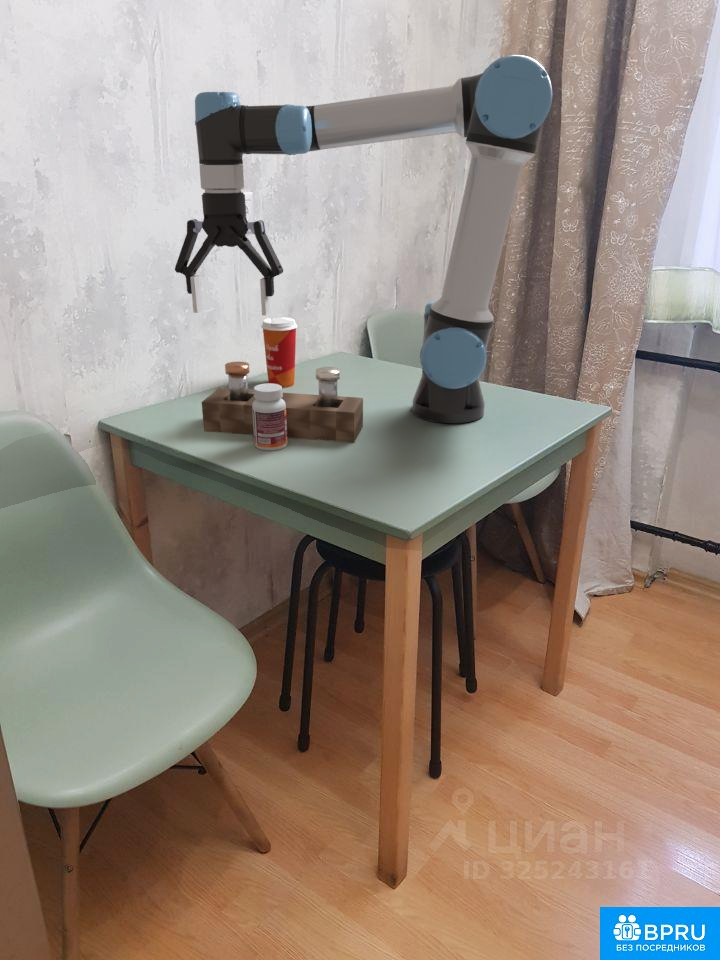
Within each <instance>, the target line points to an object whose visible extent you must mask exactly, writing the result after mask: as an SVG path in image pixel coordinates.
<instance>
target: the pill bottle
mask: <svg viewBox="0 0 720 960" xmlns="http://www.w3.org/2000/svg"><path fill="white" fill-rule="evenodd" d="M253 391H254V398H255V399H256V400H255V401H254V402H253V404H252V413H253V429H254V435H253V441H254V447H256V448H257V449H258V450H261V451H278V450H281V449H285V447H286V446H287V445H288V438H287V419H286V403H285V401H284V400H283V399H281V398H282V397H283V393H284V392H283V388H282V386H281V385H278V384H272V383H269V382H268V383H261V384H256V385H255V386H253Z"/></svg>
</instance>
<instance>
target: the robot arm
mask: <svg viewBox="0 0 720 960" xmlns="http://www.w3.org/2000/svg"><path fill="white" fill-rule="evenodd" d="M552 102H553V88H552V82H551V78H550V76H549V74H548V72H547V70H545V68H544V67H543V65H541V63H539V62H538V60H535V59H534V58H532V57H530V56H527V55H521V54H510V55H505V56H502V57H500V58H497V59H496V60H495V61H493V62H491V63H490V64H489V65H488V66H487V67H486V68H485V69H484V71H483V72H482V73H480V74H476V75H472V76H466V77H458V79H457V81H456V82H455V83H454V84H452V85H450V86H443V87H442V86H441V87H434V88H427V89H420V90H414V91H408V92H407V91H406V92H400V93H399V92H398V93H392V94H385V95H379V96H371V97H364V98H356V99H351V100H342V101H335V102H329V103H322V104H316V105H307V106H306V105H305V106H304V105H294V104H289V103H288V104H279V105H278V104H277V105H276V104H271V105H245V104H241V102H240V98H239V95H238V93H236V92H232V91H203V92H199V93H198V94H196V96H195V98H194V113H195V114H194V115H195V119H194V125H195V132H196V141H197V142H196V143H197V149H198V150H197V151H198V163H199V177H200V178H199V179H200V188H201V190H204V192H202V194H201V200H202V201H201V202H202V213H203V220H201V221H200V220H199V219H195V218H194V219H190V220H187V222H186V235H185V237H184V241H183V243H182V246H181V250H180V252H179V256H178V258H177V261H176V264H175V265H174V266H175V267H174V271H175V272H176V273H177V274H178V273H179V274H182V275H183V276H184V277H185V283H186V292H187V294H189V295H190V294H191V298H192V308H193V309H192V311H193V313H194V314H197V313H200V312H202V311H203V310H204V309H203V307H204V306H203V298H202V297H203V296H202V287H201V286H202V285H201V276H200V274H197V271H198V270H199V268H200V267H201V265H202V264H203V263H204V261H205V259H206V258H207V257H208V256H209V254H210V253H211V251H212V249H213V248H214V247H215V246H216V247H218V248H219V247H220V248H221V247H224V246H225V247H228V248H229V247H230V248H234V247H236V246H237V247H238V248H239V249H240V250H241V251H242V252H243V253H244V254H245V255H246V256H247V258H248V259H249V260H250V262H251V263H252V264H253V265H254V267H255V268H256V269H257V270H258V272H260V274H261V275H262V276H263V277H262V278H260V279H259V284H260V297H261V298H260V301H261V303H260V304H261V315H262V316H268V315H269V314H271V300H270V299H271V298H272V296H274V294H275V283H274V282H275V281H274V279H275V277H277V276H279V275H281V274H283V273H284V268H283V266H282V264H281V262H280V259H279V257H278V256H277V253H276V252H275V250H274V247H273V245H272V243H271V242H270V239H269V237H268V235H267V233H266V227H265V223H264V221H263V220H262V219H260V220H256V221H251V222H249V221H248V220H247V209H246V208H247V206H246V195H245V194H244V192H242V190H243V189H244V188H245V179H244V162H243V161H244V160H243V155H245V154H246V155H287V156H295V155H303V154H304V155H305V154H307V153H308V152H315V151H320V150H328V149H336V148H338V149H339V148H344V147H353V146H361V145H368V144H375V143H385V142H391V141H398V140H399V141H400V140H407V139H415V138H422V137H431V136H438V135H439V136H440V135H447V134H454V133H455V134H457V135H458V136H459V137H460V138H462V139H463V138H465V145H466V146H467V149H468V151H469V152H470V154H471V159H470V164H469V168H468V174H467V177H466V182H465V186H464V190H463V196H462V200H461V203H460V209H459V215H458V219H457V223H456V227H455V228H456V229H455V233H454V238H453V241H452V245H451V252H450V256H449V260H448V266H447V269H446V275H445V279H444V283H443V289H442V293H441V297H440V298H439V299H438V300H436V301H429V302H428V303H426V305H425V307H424V313H423V318H424V323H423V337H422V346H421V348H420V351H419V352H420V354H419V359H420V364H421V367H422V369H421V370H422V371H421V377H420V379H419V383H418V385H417V386H416V387H417V388H416V390H415V393H414V396H413V399H412V403H411V404H412V405H411V406H412V407H411V411H412V414H414V416H416V417H418V418H420V419H423V420H425V421H431V422H435V423H440V424H441V423H442V424H463V423H464V424H465V423H470V422H473V421H477V420H480V419H481V418H482V417H484V415H485V406H486V405H485V399H484V395H483V391H482V388H481V384H480V380H479V377H480V376H481V375H482V373H483V371H484V370H485V367H486V365H487V361H488V360H487V359H488V358H487V356H488V353H487V348H488V344H489V339H490V336H491V331H492V327H493V324H494V315H493V314H492V312H491V310H490V309H489V304H490V300H491V295H492V291H493V287H494V284H495V279H496V275H497V273H498V267H499V263H500V258H501V255H502V252H503V247H504V242H505V239H506V235H507V230H508V226H509V223H510V218H511V214H512V212H513V211H512V210H513V208H514V207H513V206H514V203H515V198H516V194H517V190H518V185H519V181H520V177H521V174H522V169H523V167H524V165H525V164H526V163H527V162H528V161H530V160H531V159H532V158H534V157H535V155H536V151H537V146H538V143H539V139H540V135H541V131H542V128H543V124H544V122H545V120H546V119H547V118H548V117H547V116H548V115H549V113H550V111H551V106H552ZM202 230H203V232H204V233H205V234H206V235H207V236H206V238H205V239H204V241H203V242H202V245H201V247H200V248H199V249H198V251H196V254H195V256H194V257H193V258H192V260H191V261H190V259H191V257H192V254H193V250H194V248H195V247H194V246H195V244H196V242H197V239H198V236H199V233H201V231H202ZM249 230H250V231H251V234H253V235H254V236H255V239H256V241H257V242H258V245H259V248H260V249H261V251H262V254H263V255H264V257H265V259H266V261H267V262H266V261H265V260H264V258H263V257H262V256H261V254H260V253H259V252H258V251H257V250H256V248H255V247H254V246H253V244H252V243H251V241H250V239H249V238H248V237H247V236H246V235H247V233H248V231H249ZM189 261H190V263H189ZM270 297H271V298H270Z"/></svg>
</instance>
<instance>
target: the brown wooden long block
mask: <svg viewBox="0 0 720 960" xmlns="http://www.w3.org/2000/svg"><path fill="white" fill-rule="evenodd" d="M282 393H283V397H282V398H281V399H283V400H284V401H285V403H286V419H287V439H288V438H290V439H300V440H301V439H302V440H315V441H329V442H342V443H351V444H352V443H355V442H356V440H357V438H358V437H359V435H360V433H361V430H362V429H363V427H364V397H354V396H341V395H338V406H337V407H335V408H331V407H319V394H312V393H311V394H310V393H309V394H308V393H297V392H296V393H295V392H294V393H293V392H282ZM255 400H256V399H255V398H254V390H250V389H248V400H247V401H245V402H244V401H230V393H229V388H219V387H218V388H217V389H216V390H214V391H213V392H212V393H210V394H209V395H208V396H207V397H206V398H205V399H203V400H202V401H201V411H202V413H201V414H202V422H203V431H204V432H211V433H222V434H223V433H224V434H236V435H248V436H249V435H251V436H254V429H253V413H252V404H253V402H254V401H255Z"/></svg>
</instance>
